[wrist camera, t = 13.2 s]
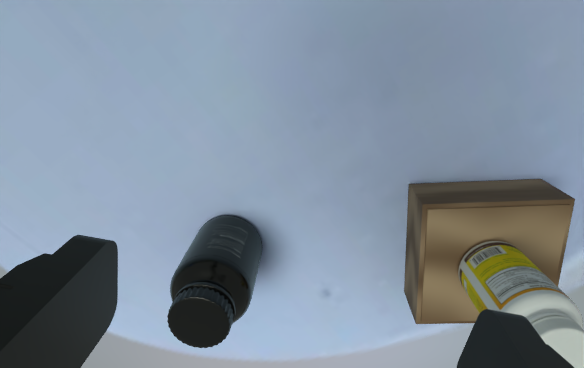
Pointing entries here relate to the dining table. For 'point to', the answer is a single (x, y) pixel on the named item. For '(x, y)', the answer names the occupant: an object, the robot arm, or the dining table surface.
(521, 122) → the dining table surface
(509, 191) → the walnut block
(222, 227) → the supplement bottle
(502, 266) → the supplement bottle
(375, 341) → the dining table surface
